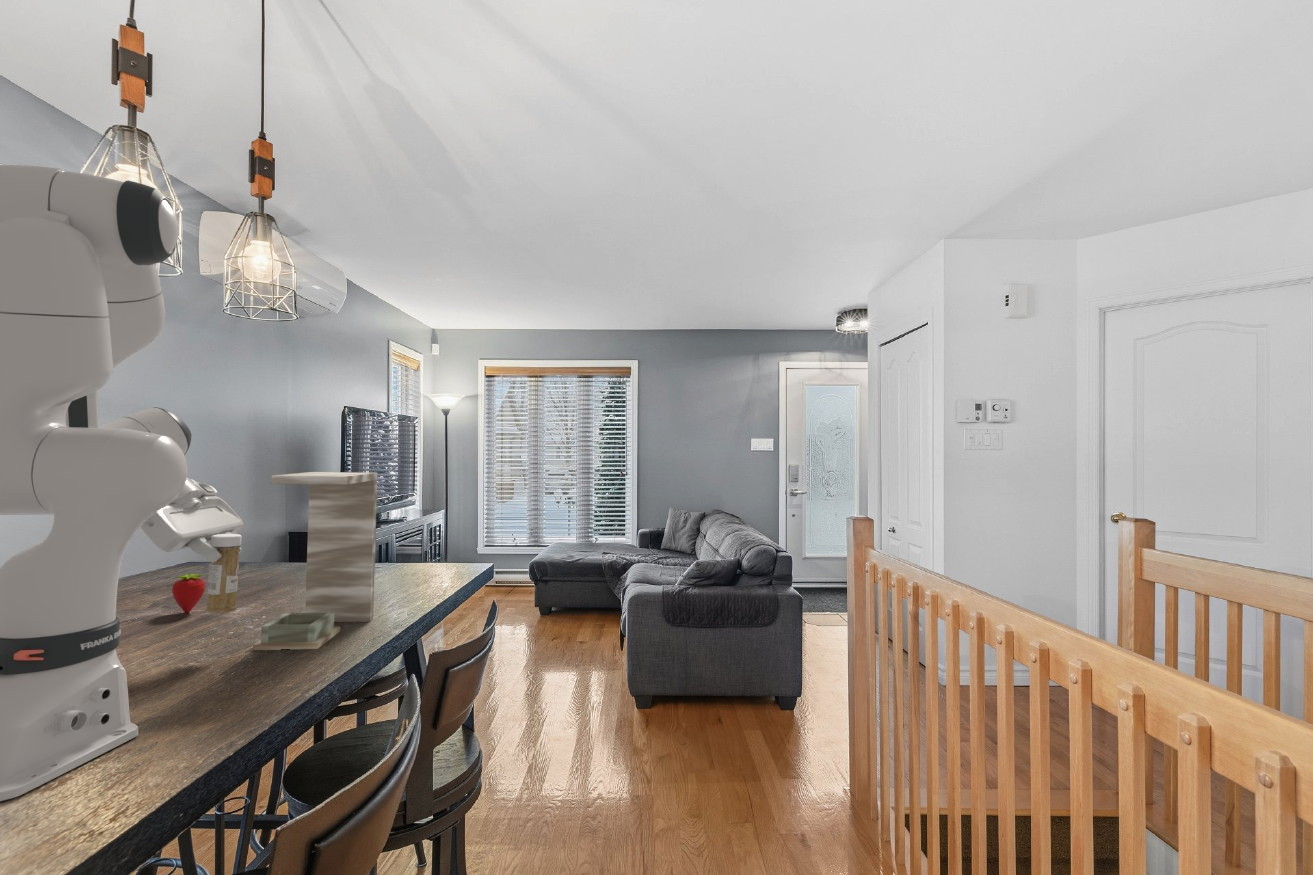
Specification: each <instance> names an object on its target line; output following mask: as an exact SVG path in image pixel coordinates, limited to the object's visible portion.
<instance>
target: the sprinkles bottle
mask: <svg viewBox="0 0 1313 875" xmlns="http://www.w3.org/2000/svg"><path fill="white" fill-rule="evenodd" d="M242 538H243V537H242V535H241V534H239V533H235V534H217V535H212V536H211V540H210V542H209V544H210V545H211V546H213V547H214V548H215V549H216V548H219V549H220V550H221V552H223V553H224V557H223V558H222V559H221V560H220V561H217V562H214V563H212V562H210V561H209V565H208V580H207V600H206V601H207V602H206V603H207V605H206V608H205V611H206V612H207V613H208V614H225V613H229V612H232V611H235V610H236V609H237V596H238V595H237V594H238V593H237V592H238V583H239V581H238V579H239V570H240V568H239V567H240V564H239V562H240V561H239V560H240V553H239V548H240V547H241V545H242V540H243V539H242Z"/></svg>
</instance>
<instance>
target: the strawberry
mask: <svg viewBox="0 0 1313 875" xmlns="http://www.w3.org/2000/svg"><path fill="white" fill-rule="evenodd" d="M194 567H195V566H193V567H192V568H191V569H190V570H189V571H188V573H186V574H185V575H177V576H176V577H175V579H178V580H175V582H174V583H173V584H172V588H171V592H172V596H173V599H174V600H175V602H176V604H177V605H178V606H179V607H180V609H182V611H183V613H186V614H188V613H191V611H192V610H193V609H194V607H195V606H197V604H198V603H199V601H200V600H201V599H202V597H203V596H204V593H205V590H206V587H207V586H206V581H204V579H202V578H200V577H206V575H207V574H196V573H194V574H193V573H192V574H190V572H192V570H193V569H194Z"/></svg>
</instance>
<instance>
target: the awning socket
mask: <svg viewBox="0 0 1313 875" xmlns="http://www.w3.org/2000/svg"><path fill="white" fill-rule="evenodd" d="M270 480H271V484H272V485H308V489H309V490H308V512H307V513H308V515H307V516H308V517H307V548H306V549H307V551H306V576H305V577H306V580H305V581H306V582H305V584H306V585H305V610H304V611H305V612H291V613H290V612H289V613H287V612H285V613H283V614H281V615H279V616H277V617H276V618H274V619H272V620H270V621H269V622H267V623H265V624H264V625H262V626H261V629H260V630H261V632H260V633H261V634H260V640H259V641H257V642H255V643H254V644H253V645H252V651H280V650H281V649H290V650H318V649H319V648H321V647H322V646H323V645H325V644H326V643H327V642H328V641H330V640H331V639H332V638H333V637H335V636H336V635H338V634H339V633H340V632H341V626H338V625H337V626H336V625H335V623H346V622H347V623H350V622H351V623H354V622H355V623H359V622H360V623H361V622H366V623H367V622H371V621H373V619H374V604H375V600H374V599H375V574H376V573H375V571H376V570H375V569H376V567H375V566H376V564H375V563H376V533H377V530H376V529H377V528H376V527H377V501H378V500H377V498H378V497H377V496H378V495H377V494H378V472H356V471H355V472H353V471H352V472H351V471H350V472H349V471H347V472H346V471H345V472H344V471H343V472H337V471H334V472H333V471H310V472H309V471H308V472H298V473H297V472H296V473H288V474H287V473H285V474H276V475H275V474H274V475H271V479H270Z"/></svg>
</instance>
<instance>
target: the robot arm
mask: <svg viewBox="0 0 1313 875" xmlns="http://www.w3.org/2000/svg"><path fill="white" fill-rule="evenodd" d="M178 240H179V222H178V219H177V216H176V213H175V211H174V208H173V207H172V204H171V201H169V199H168V198H167V197H166V196H165V194H163V193H162V192H161V191H160V190H159V189H158V188H155V187H153V186H150V185H147V184H143V183H139V182H136V181H134V180H125V181H122V180H116V179H113V178H108V177H104V176H99V175H95V174H93V175H92V174H88V173H83V172H76V171H70V170H68V169H66V168H58V167H49V166H37V165H36V166H34V165H23V164H22V165H21V164H19V165H18V164H3V163H0V516H10V515H11V516H15V515H17V516H21V515H24V516H25V515H41V516H43V515H53V524H52V526H51V530H50V532H49V533H48V535H47V537H46V538H45V539H44V540H43V541H42V542H40V543H38V544H35V545H34V546H31V547H29V548H26V549H24V550H21V551H20V552H18V553H16V554H15V555H13V556H11V557H10V558H9V559H7V560H6V561H5V562H4V563H3V564H2V565H1V566H0V802H4V801H6V800H10V799H13V798H17V797H19V796H22V795H23V794H26V793H28V792H30V791H32V790H34V789H36V788H38V787H40V786H42V785H45V783H48V782H51V781H52V780H53V779H55V778H57V777H59V776H62V775H64V774H65V773H67V772H69V771H71V770H74V769H75V768H77V767H79V766H81V765H83V764H85V763H87V762H89V761H91V760H93V759H94V758H97V757H98V756H101V755H102V754H105V753H107V752H108V751H111V750H112V749H114V748H116V747H118V746H120V745H122V744H124V743H126V742H129V740H132V739H134V738H136V737H138V736H139V726H138V725H137V724H135V723H133V722H131V716H130V705H129V704H130V703H129V690H128V688H129V687H128V680H127V679H128V678H127V671H126V669H125V667H124V666H123V665H122V663H121V662H120V660H119V658H118V657H119V656H118V654H117V648H118V647H119V646H120V644H121V643H120V642H121V641H120V636H121V634H122V628H121V622H120V621H121V620H120V617H118V616H117V614H116V613H117V601H118V600H117V597H118V596H117V595H118V589H119V588H118V587H119V578H120V572H121V564H122V561H123V560H122V559H123V557H124V555H125V552H126V549H127V548H128V546H129V543H130V541H131V540H132V538H133V537H134V535H135V534H136V533H137V531H138V530H139V529H140V528H141V530H142V532H143V533H144V534H145V535H146V536H147V537H148V538H149V540H150V541H152V543H153V544H154V545H155V546H156V547H157V548H158V549H160V550H162V551H163V552H166V553H171V552H175V551H180V550H183V549H188V548H189V549H191V551H193V552H195V553H196V554H198V555H200V556H202V557H205V558H206V559H208V561H209V563H210V562H212V563H214V562H217V561H220V560H221V559H222V558H223V557H224V553H223V552H221V550H220V549H219V548H216V549H215V548H214V547H213V546H211V545H210V540H211V536H212V535H217V534H237V533H238V532H239V531H240V530H241V529H243V527H244V522H243V519H242V518H241V517H240V516H239V514H238V513H237V512H236V511H235V510H234V509H233V508H232V507H231V506H230V505H229V504H228V503H227V502H226V501H225V500H223V498H221V497H219V496H217V494H218V490H216V488H215V487H214V486H212V485H210V484H205V483H202V482H199V481H196V480H194V479H192V478H189V477H188V468H189V467H188V461H187V458H186V456H185V455H186V454H187V452H188V451H189V449H190V447H191V446H190V445H191V443H192V436H193V435H192V432H191V430H190V428H189V427H188V425H187V423H186V422H184V420H183V419H182V418H180V417H179V416H178V415H177V414H175V413H174V412H172V411H170V410H168V409H165V408H162V407H152V408H146V409H143V410H139V411H137V412H133V413H130V414H128V415H125V416H122V417H120V418H118V419H114V420H112V421H108V422H106V423H104V424H100V421H99V399H98V398H99V397H98V395H99V389H102V388H103V387H104V386H105V385H106V384H107V383H108V381H109V380H110V379H111V377H112V375H113V373H114V368H116V367H117V366H118V365H120V364H121V363H122V362H123V361H125V360H126V359H128V358H130V356H132V355H134V354H135V353H137V352H139V351H140V350H142V349H144V348H146V347H147V346H149V344H151V343H152V342H153V341H154V340H156V338H157V337H158V336H159V334H160V333H161V331H162V330H163V328H164V325H165V319H166V306H165V299H164V294H163V290H162V285H161V284H162V283H161V280H160V279H161V278H160V276H159V271H158V268H157V266H156V264H160V263H163V262H165V261H166V260H167V259H169V258H170V257H171V256H172V255H173V254H174V253H175V251H176V247H177V242H178ZM99 424H100V425H99ZM242 551H243V549H242V547H241V546H240V548H239V554H240V553H241V552H242Z"/></svg>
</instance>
